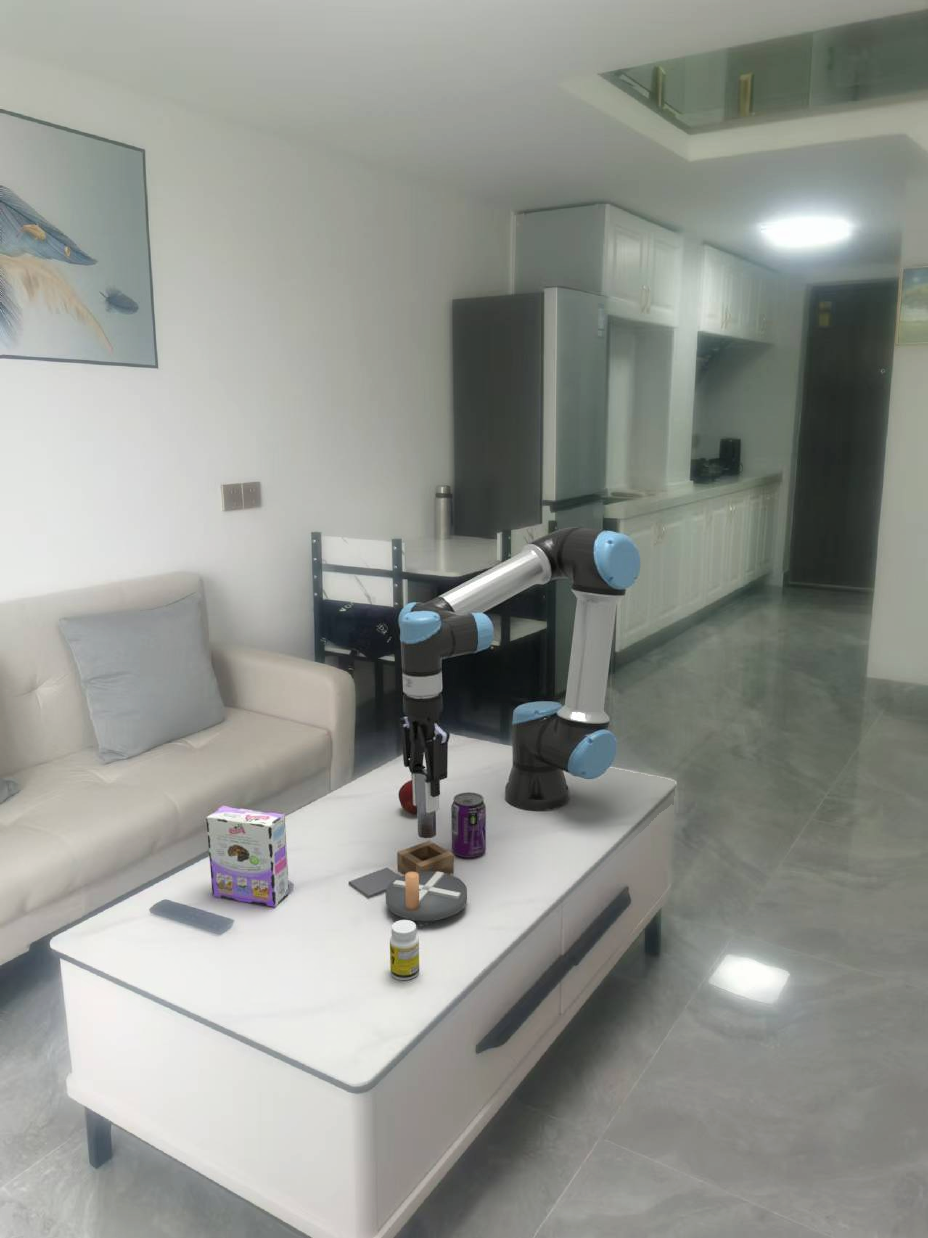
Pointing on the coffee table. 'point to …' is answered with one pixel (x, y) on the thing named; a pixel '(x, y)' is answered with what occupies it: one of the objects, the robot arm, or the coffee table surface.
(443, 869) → the block
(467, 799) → the beverage can
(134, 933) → the coffee table surface
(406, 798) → the apple
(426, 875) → the handwheel
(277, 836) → the candy box
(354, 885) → the rest mat
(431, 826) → the grey cylinder
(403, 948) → the supplement bottle
